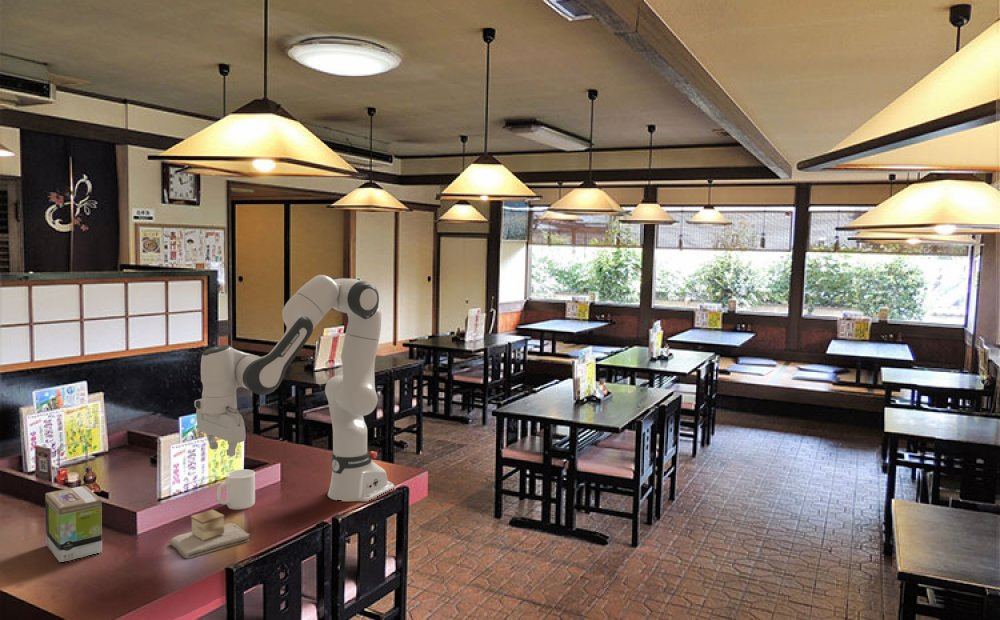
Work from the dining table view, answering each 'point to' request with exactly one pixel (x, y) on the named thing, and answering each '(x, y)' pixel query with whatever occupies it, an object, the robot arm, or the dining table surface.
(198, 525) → the hinoki box
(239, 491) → the cup
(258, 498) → the dining table surface
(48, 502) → the tea box
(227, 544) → the washcloth
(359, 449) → the robot arm
